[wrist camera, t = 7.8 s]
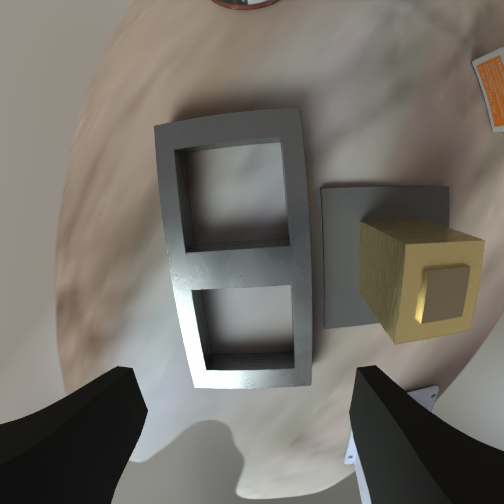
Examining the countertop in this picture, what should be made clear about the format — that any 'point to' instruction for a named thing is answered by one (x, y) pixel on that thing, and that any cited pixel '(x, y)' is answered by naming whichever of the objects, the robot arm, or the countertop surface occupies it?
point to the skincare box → (492, 85)
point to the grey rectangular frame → (238, 248)
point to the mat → (348, 239)
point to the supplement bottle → (244, 4)
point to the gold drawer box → (419, 277)
